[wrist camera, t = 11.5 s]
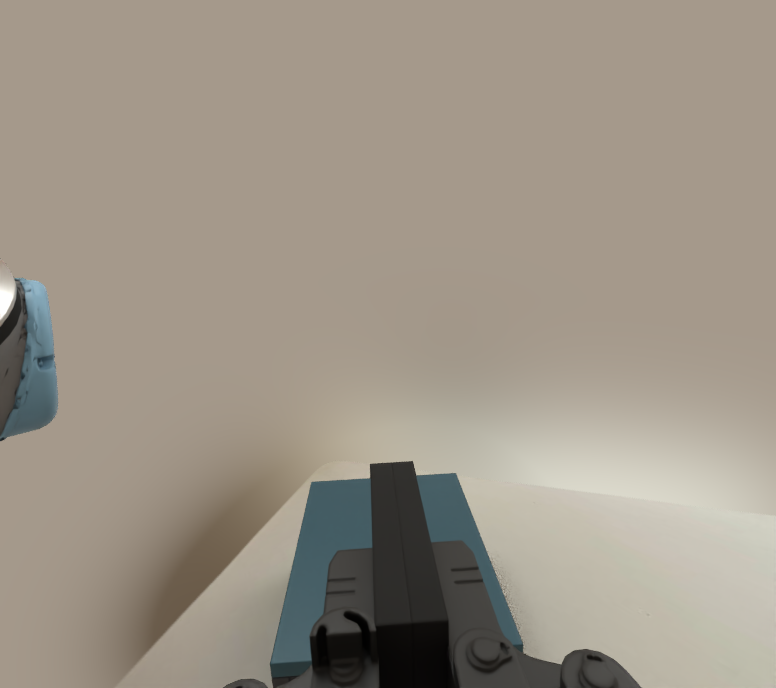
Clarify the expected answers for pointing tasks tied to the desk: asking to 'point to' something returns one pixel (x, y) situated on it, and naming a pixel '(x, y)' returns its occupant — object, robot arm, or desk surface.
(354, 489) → the cover
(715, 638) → the desk surface
